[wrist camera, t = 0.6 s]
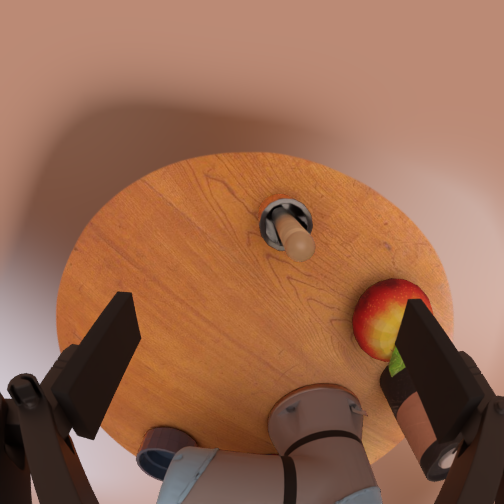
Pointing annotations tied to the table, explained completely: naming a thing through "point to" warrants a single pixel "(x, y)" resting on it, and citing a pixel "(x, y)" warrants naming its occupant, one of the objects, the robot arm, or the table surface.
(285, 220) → the stick
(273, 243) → the holder
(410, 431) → the travel mug
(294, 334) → the table surface
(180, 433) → the bowl
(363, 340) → the fruit
